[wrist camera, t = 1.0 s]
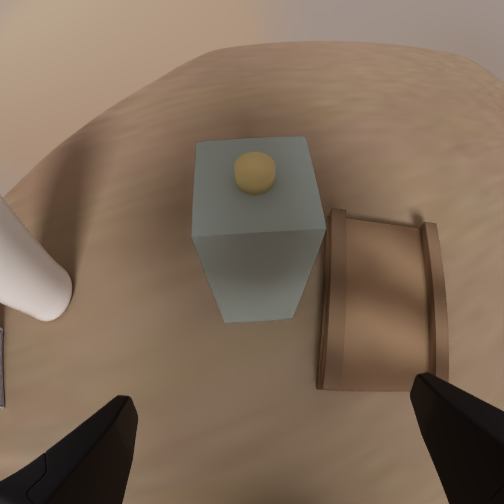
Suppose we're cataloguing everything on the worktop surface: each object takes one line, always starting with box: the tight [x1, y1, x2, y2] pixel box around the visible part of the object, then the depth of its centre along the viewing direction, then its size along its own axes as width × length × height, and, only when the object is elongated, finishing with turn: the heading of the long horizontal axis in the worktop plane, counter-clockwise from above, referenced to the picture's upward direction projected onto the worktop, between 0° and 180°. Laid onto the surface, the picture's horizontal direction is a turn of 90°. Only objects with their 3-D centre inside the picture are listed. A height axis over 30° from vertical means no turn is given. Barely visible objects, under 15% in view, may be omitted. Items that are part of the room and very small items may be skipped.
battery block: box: [191, 136, 327, 323], centre depth 18 cm, size 5×5×14 cm
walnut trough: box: [317, 208, 449, 391], centre depth 23 cm, size 14×10×2 cm
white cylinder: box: [0, 195, 72, 321], centre depth 18 cm, size 7×7×15 cm
